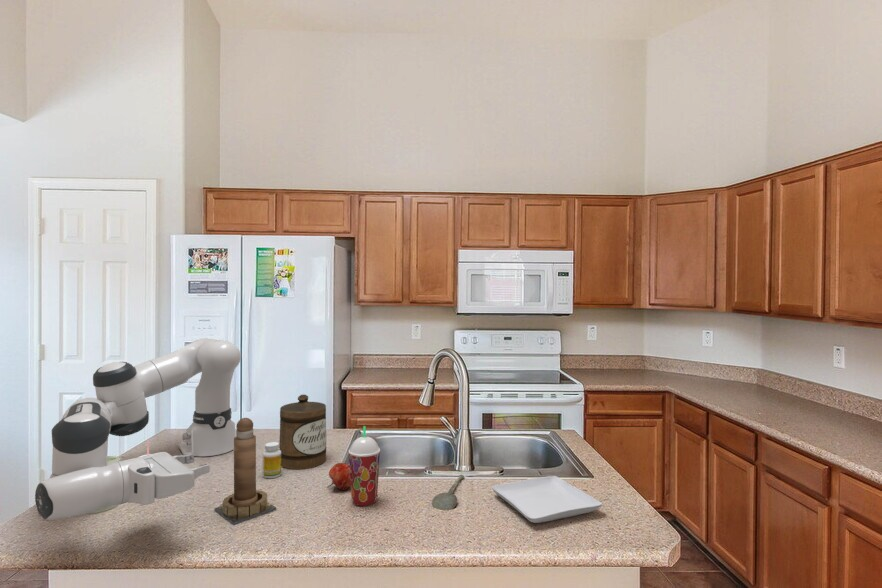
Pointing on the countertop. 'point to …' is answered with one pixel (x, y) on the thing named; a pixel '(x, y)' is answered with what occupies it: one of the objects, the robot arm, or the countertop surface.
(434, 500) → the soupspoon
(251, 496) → the pepper mill
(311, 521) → the countertop surface
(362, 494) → the smoothie
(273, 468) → the supplement bottle
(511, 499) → the salad plate
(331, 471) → the pomegranate
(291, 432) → the wooden container
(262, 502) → the collar socket
